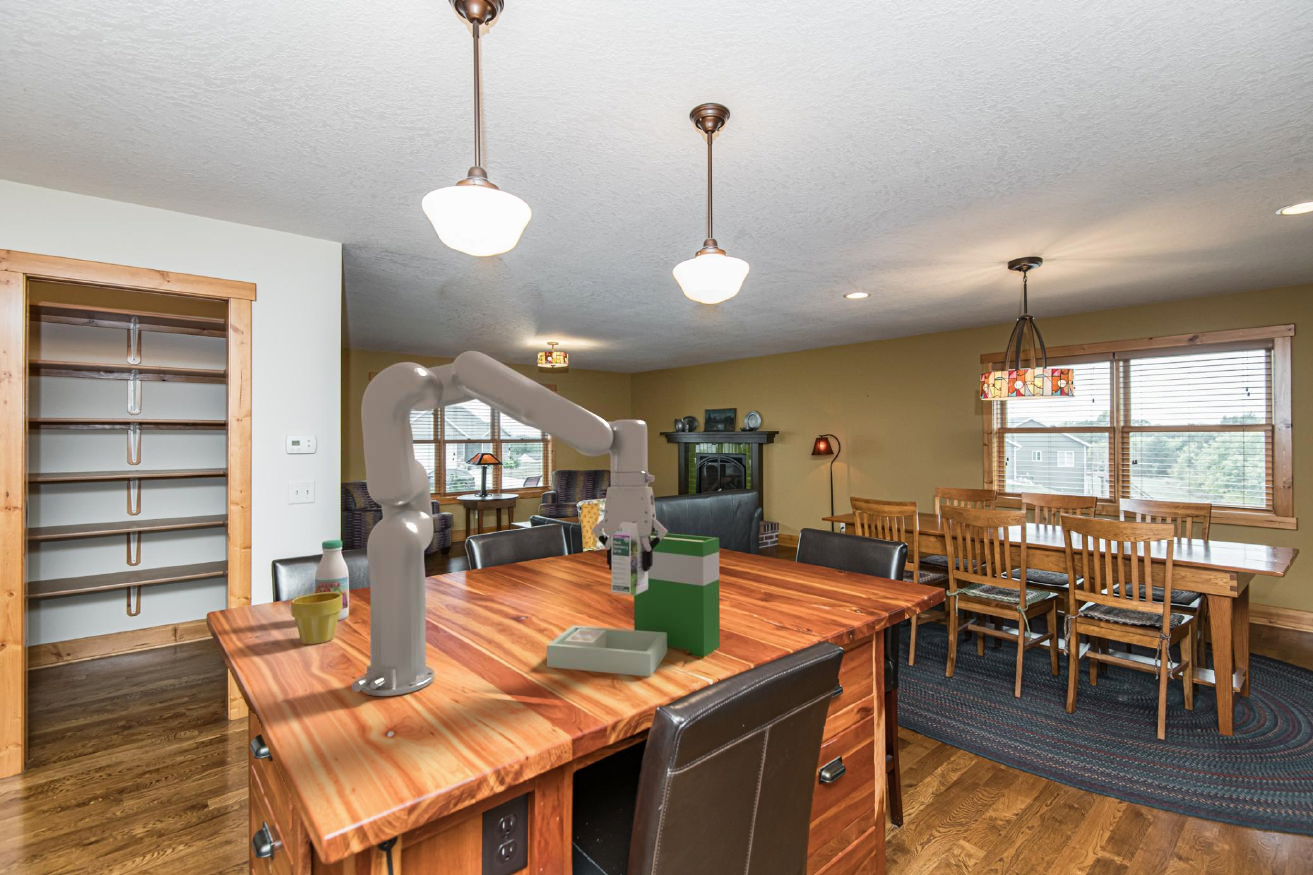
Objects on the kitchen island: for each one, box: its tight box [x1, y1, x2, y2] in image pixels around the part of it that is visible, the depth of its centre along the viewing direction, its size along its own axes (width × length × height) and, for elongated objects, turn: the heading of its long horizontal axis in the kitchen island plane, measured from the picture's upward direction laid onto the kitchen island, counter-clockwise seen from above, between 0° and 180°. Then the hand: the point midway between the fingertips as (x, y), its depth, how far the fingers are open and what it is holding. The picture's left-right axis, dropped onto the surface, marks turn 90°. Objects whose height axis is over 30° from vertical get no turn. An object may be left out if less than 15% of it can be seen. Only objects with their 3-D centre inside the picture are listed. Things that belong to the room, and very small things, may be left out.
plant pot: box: [290, 592, 343, 645], centre depth 136 cm, size 10×10×10 cm
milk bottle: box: [314, 539, 350, 621], centre depth 153 cm, size 8×8×20 cm
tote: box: [546, 625, 668, 678], centre depth 121 cm, size 13×21×5 cm, turn 76°
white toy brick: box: [564, 628, 606, 648], centre depth 122 cm, size 8×6×5 cm
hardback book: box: [633, 531, 721, 659], centre depth 132 cm, size 18×7×24 cm, turn 57°
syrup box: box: [610, 522, 648, 597], centre depth 120 cm, size 6×6×14 cm
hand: (629, 568), depth 120 cm, fingers closed on syrup box, 6 cm apart
